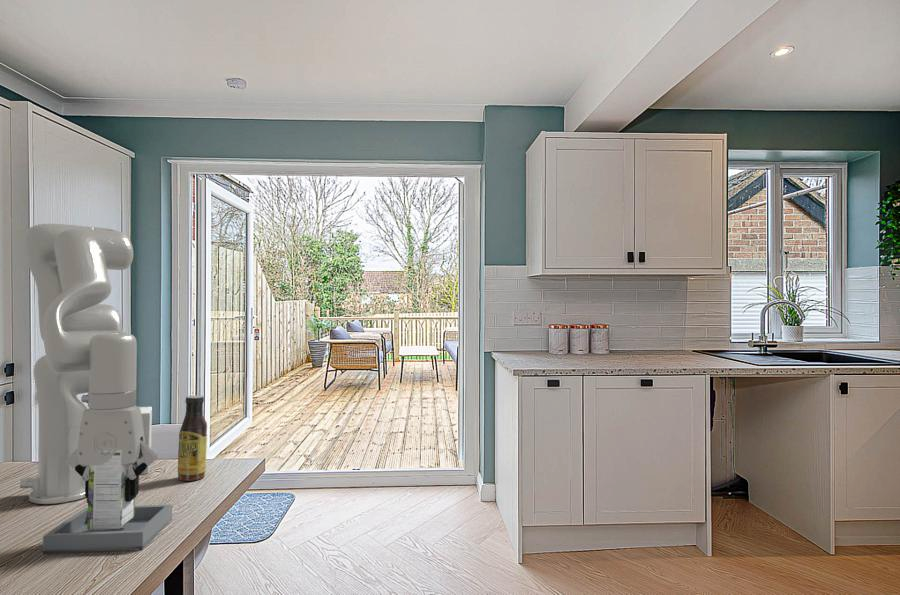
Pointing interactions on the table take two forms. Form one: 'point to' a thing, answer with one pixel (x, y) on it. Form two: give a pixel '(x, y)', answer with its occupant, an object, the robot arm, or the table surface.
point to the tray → (108, 532)
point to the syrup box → (108, 495)
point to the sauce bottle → (192, 441)
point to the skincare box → (146, 432)
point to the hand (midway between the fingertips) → (112, 499)
